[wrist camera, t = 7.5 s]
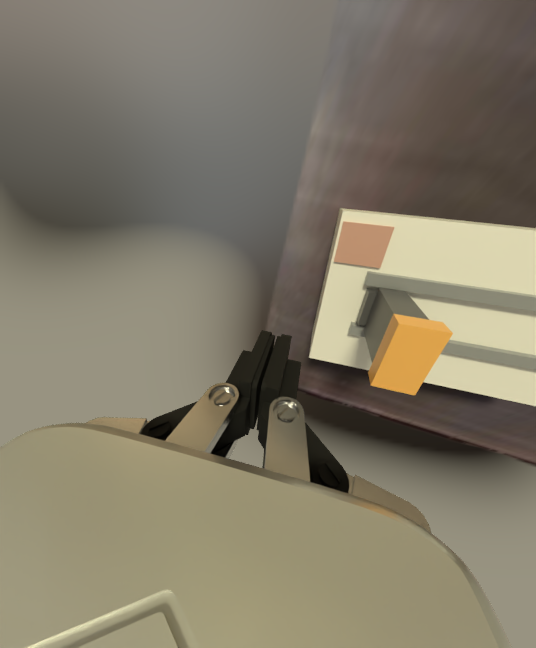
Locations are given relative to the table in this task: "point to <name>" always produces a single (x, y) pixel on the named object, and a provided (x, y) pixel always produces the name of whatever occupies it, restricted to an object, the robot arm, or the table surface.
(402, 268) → the switch box
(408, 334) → the handle
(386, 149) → the table surface
